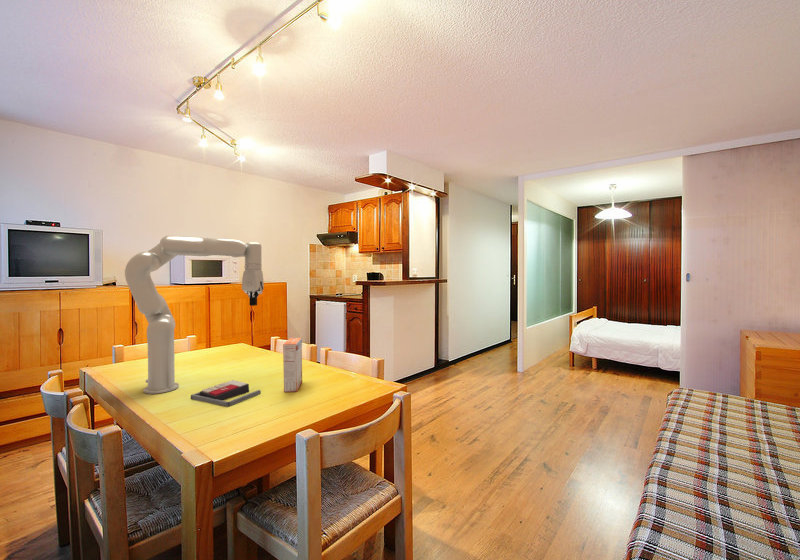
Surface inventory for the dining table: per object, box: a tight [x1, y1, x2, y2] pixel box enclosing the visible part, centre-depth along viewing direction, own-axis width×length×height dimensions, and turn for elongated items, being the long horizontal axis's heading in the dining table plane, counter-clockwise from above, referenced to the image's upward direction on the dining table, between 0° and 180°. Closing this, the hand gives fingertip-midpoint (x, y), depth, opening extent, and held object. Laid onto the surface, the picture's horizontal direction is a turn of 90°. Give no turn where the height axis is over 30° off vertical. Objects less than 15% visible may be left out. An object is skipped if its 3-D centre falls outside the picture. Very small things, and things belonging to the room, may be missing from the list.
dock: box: [190, 389, 262, 408], centre depth 142 cm, size 21×16×2 cm
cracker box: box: [282, 337, 303, 393], centre depth 154 cm, size 14×6×21 cm, turn 6°
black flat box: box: [199, 379, 250, 401], centre depth 144 cm, size 11×4×15 cm
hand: (253, 305), depth 168 cm, fingers closed
